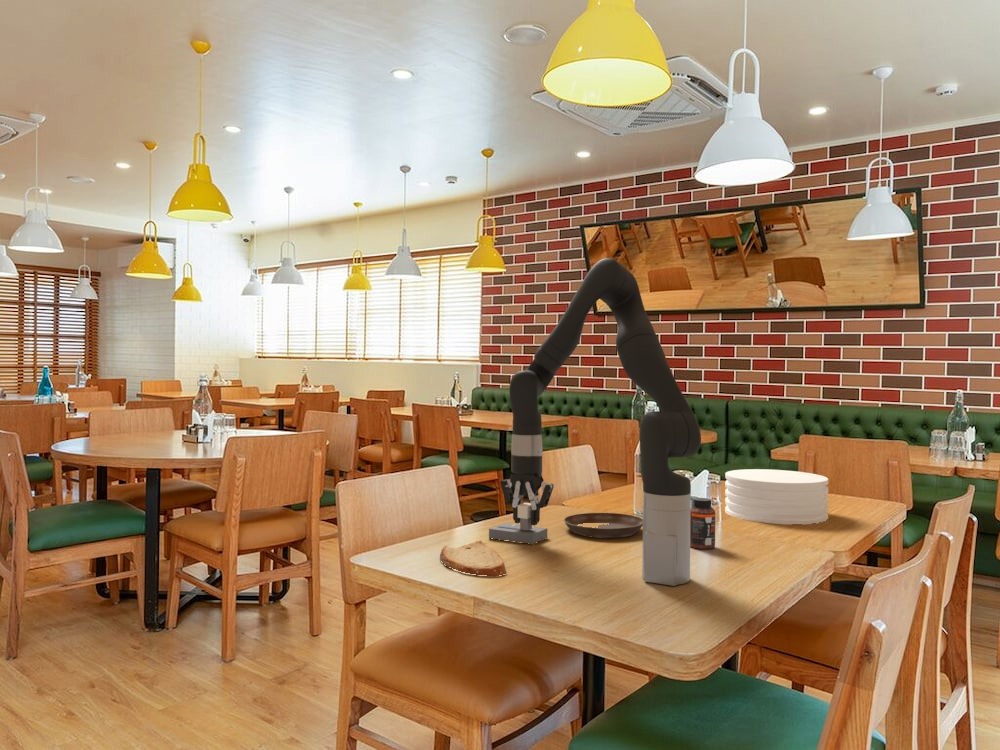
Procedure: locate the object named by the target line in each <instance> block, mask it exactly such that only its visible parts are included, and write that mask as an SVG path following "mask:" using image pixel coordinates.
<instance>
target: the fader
mask: <svg viewBox="0 0 1000 750" xmlns="http://www.w3.org/2000/svg"><path fill="white" fill-rule="evenodd" d="M531 510H533V509H532V505H531V502H524V503H521V504H520V505H518V518H520V523H519V525H520V530H526V531H528V530H530V529H532V526H533V525H531Z"/></svg>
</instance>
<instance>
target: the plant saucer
mask: <svg viewBox="0 0 1000 750" xmlns="http://www.w3.org/2000/svg"><path fill="white" fill-rule="evenodd" d="M563 521H564V524H565V525H566V526H567V528H568V530H570V531H571V532H572V531H573V533H574V532H575V533H574V534H576V533H577V534H576V535H578V534H581V535H580V536H582V535H585V536H584V537H587V536H592V537H591V538H594V537H602V538H601V539H619V538H618V537H622V538H627V536H628V537H631V536H634V535H635V534H637V533H638V532H639V531H640V530H641V528H643V517H640V516H635V515H631V514H626V513H625V514H624V513H615V512H585V513H578V514H577V513H576V514H573V515H572V514H571V515H567V516H566V517H564V518H563ZM583 523H609V525H608V524H607V525H604V524H603V525H599V526H598V528H596V527H595V528H592V527H583V526H577V525H578V524H583Z"/></svg>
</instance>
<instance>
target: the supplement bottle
mask: <svg viewBox="0 0 1000 750" xmlns="http://www.w3.org/2000/svg"><path fill="white" fill-rule="evenodd" d="M692 504H693V506H691V512H690V548H693V549H699V550H711V549H715V547H716V510H715V509H714V508H713V507H712V499H710V498H709V497H708V498H705V497H695V498H693V503H692Z"/></svg>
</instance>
